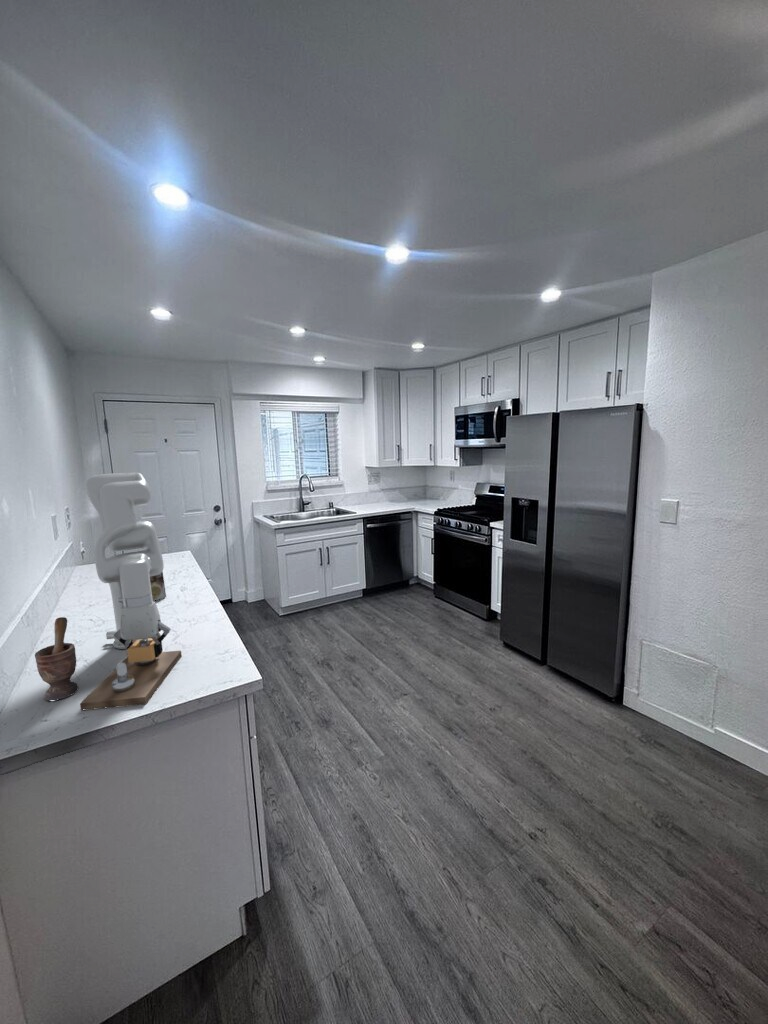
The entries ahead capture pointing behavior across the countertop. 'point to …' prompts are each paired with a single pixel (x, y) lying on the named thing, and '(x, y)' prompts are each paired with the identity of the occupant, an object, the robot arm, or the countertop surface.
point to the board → (144, 683)
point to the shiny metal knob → (144, 663)
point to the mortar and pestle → (58, 664)
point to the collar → (141, 652)
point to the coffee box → (157, 586)
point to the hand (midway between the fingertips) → (145, 655)
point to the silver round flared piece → (122, 679)
